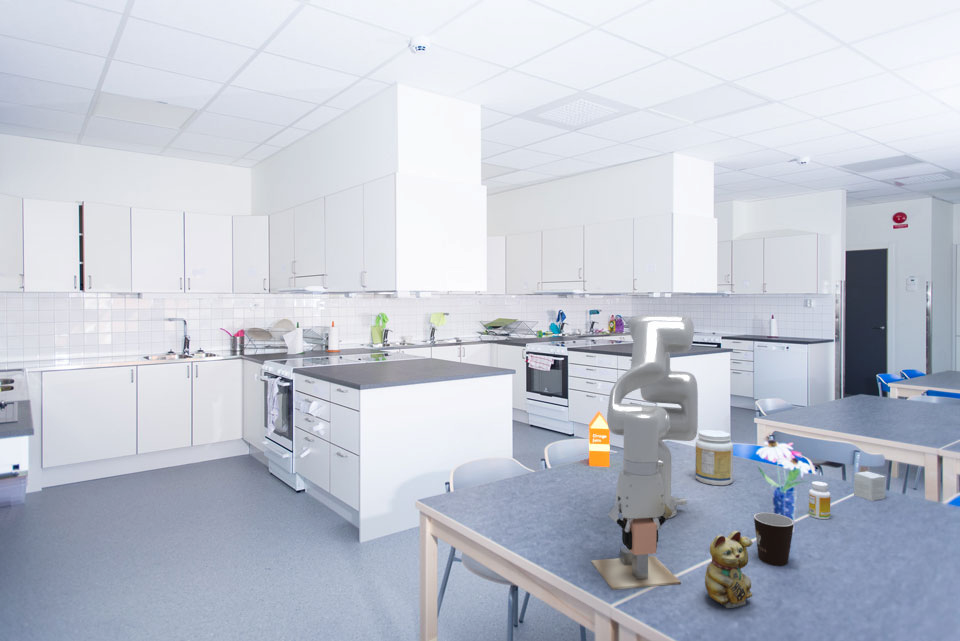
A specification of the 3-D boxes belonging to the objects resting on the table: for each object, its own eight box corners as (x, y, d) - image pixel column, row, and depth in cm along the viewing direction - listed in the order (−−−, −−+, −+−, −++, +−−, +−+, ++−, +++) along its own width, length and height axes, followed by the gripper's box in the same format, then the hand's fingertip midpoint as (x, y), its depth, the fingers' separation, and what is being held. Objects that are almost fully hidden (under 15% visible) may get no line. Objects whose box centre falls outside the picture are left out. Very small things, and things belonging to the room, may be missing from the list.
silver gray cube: (630, 559, 135) (630, 547, 135) (634, 564, 132) (634, 552, 132) (619, 560, 135) (619, 548, 134) (624, 565, 132) (624, 553, 132)
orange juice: (589, 466, 214) (589, 414, 214) (588, 459, 223) (588, 409, 223) (610, 466, 213) (610, 414, 213) (608, 460, 222) (608, 410, 221)
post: (642, 573, 128) (643, 545, 128) (648, 579, 125) (648, 550, 125) (632, 574, 128) (632, 546, 127) (637, 580, 125) (637, 551, 125)
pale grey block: (867, 492, 184) (867, 470, 183) (885, 499, 178) (886, 476, 178) (853, 495, 182) (853, 472, 181) (871, 501, 176) (872, 478, 176)
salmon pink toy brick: (645, 543, 129) (646, 515, 129) (656, 553, 124) (656, 524, 124) (624, 545, 128) (624, 516, 128) (634, 555, 123) (634, 525, 123)
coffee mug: (792, 571, 130) (792, 529, 130) (751, 562, 134) (751, 521, 134) (794, 552, 140) (795, 513, 139) (756, 544, 144) (757, 506, 144)
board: (653, 557, 137) (653, 555, 137) (680, 583, 124) (680, 581, 124) (591, 562, 135) (591, 560, 135) (612, 589, 122) (612, 587, 122)
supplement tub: (700, 473, 205) (700, 427, 204) (736, 479, 198) (736, 432, 197) (691, 482, 195) (691, 433, 194) (728, 488, 188) (729, 438, 187)
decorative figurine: (724, 614, 112) (724, 540, 112) (693, 594, 120) (693, 525, 119) (758, 604, 116) (759, 532, 116) (726, 585, 124) (727, 518, 123)
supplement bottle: (832, 516, 164) (832, 483, 163) (827, 521, 160) (828, 487, 159) (811, 511, 167) (811, 479, 167) (806, 516, 163) (807, 483, 163)
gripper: (668, 460, 131) (667, 537, 131) (598, 463, 128) (598, 541, 129) (684, 469, 123) (683, 551, 124) (610, 473, 121) (610, 556, 121)
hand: (640, 545), depth 126 cm, fingers closed on salmon pink toy brick, 5 cm apart
